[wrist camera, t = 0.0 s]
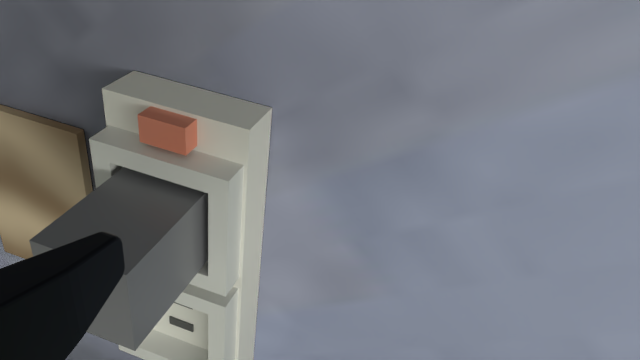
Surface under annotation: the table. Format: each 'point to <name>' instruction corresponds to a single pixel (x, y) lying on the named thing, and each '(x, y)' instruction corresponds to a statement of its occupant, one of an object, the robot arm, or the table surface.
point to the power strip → (223, 202)
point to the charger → (138, 247)
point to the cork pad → (38, 175)
